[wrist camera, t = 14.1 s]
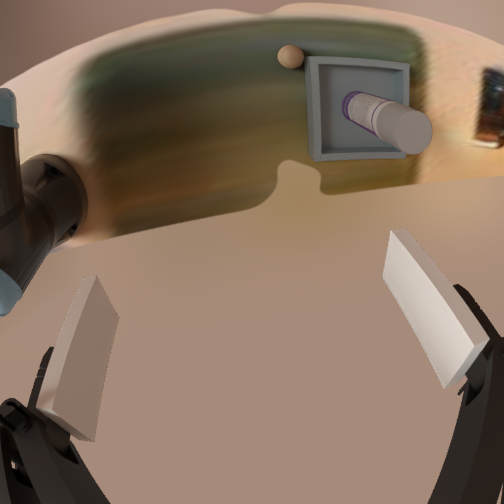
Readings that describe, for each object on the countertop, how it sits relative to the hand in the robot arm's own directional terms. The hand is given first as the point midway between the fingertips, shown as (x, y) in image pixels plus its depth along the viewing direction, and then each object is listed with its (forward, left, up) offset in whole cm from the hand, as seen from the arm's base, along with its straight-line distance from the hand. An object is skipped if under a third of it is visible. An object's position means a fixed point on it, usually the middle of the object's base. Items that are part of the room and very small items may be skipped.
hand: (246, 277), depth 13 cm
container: (+17, +2, -30) cm, 34 cm away
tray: (+17, +2, -30) cm, 35 cm away
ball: (+8, +9, -30) cm, 33 cm away
